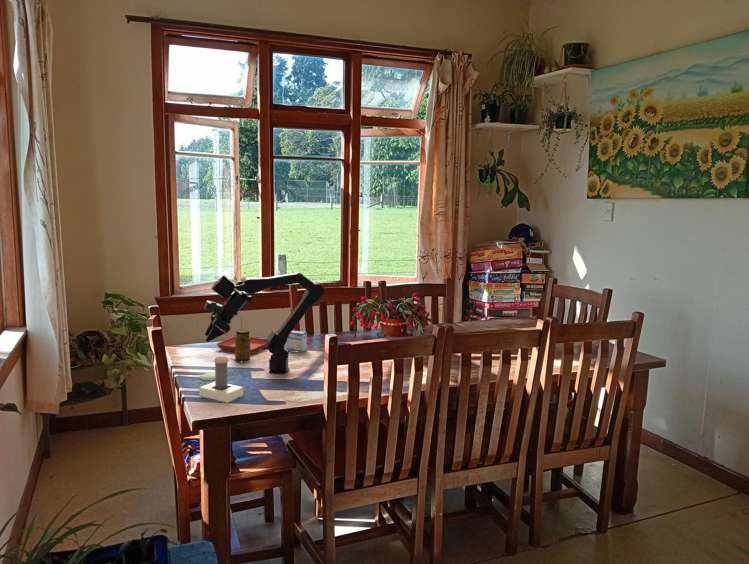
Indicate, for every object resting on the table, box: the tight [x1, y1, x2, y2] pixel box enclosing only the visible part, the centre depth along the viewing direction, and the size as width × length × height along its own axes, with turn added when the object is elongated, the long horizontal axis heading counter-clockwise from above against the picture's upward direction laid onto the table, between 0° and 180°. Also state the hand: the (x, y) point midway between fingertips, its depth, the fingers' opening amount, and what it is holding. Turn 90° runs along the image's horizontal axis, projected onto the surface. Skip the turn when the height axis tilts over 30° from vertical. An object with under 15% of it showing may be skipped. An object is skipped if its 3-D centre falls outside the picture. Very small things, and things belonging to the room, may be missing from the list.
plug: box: [214, 356, 229, 391], centre depth 200 cm, size 4×4×13 cm
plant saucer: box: [216, 335, 267, 355], centre depth 261 cm, size 18×18×3 cm
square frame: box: [199, 381, 244, 403], centre depth 201 cm, size 8×12×3 cm, turn 63°
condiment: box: [230, 329, 257, 364], centre depth 243 cm, size 7×8×12 cm
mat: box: [199, 372, 215, 382], centre depth 220 cm, size 8×8×1 cm
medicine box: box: [285, 329, 308, 353], centre depth 259 cm, size 8×4×9 cm, turn 73°
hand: (206, 338), depth 220 cm, fingers open, 9 cm apart
